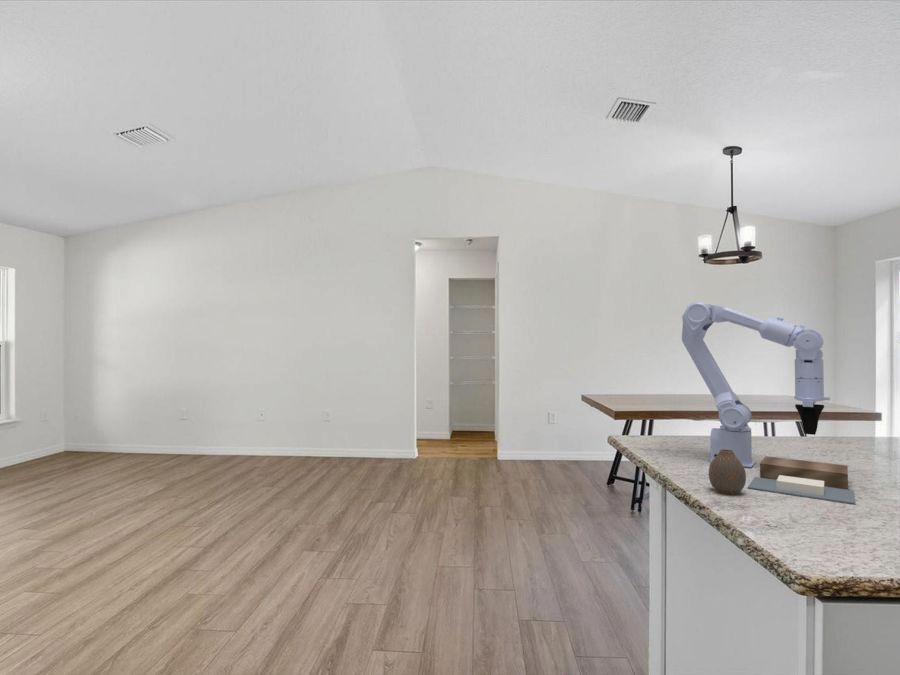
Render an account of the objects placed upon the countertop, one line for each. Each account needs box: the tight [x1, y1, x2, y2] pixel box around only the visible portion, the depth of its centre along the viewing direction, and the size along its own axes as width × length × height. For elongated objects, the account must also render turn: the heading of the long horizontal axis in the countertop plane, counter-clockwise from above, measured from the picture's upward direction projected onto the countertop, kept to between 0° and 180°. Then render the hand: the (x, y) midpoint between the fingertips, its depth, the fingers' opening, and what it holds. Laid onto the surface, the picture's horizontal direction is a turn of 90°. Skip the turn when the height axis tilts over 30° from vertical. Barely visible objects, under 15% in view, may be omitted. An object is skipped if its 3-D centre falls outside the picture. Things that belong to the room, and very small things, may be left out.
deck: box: [759, 455, 849, 490], centre depth 114 cm, size 16×10×4 cm, turn 51°
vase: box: [708, 449, 747, 495], centre depth 104 cm, size 7×7×9 cm
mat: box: [747, 476, 856, 506], centre depth 105 cm, size 18×11×1 cm, turn 51°
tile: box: [777, 475, 825, 496], centre depth 105 cm, size 8×6×2 cm
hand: (810, 434), depth 121 cm, fingers closed
